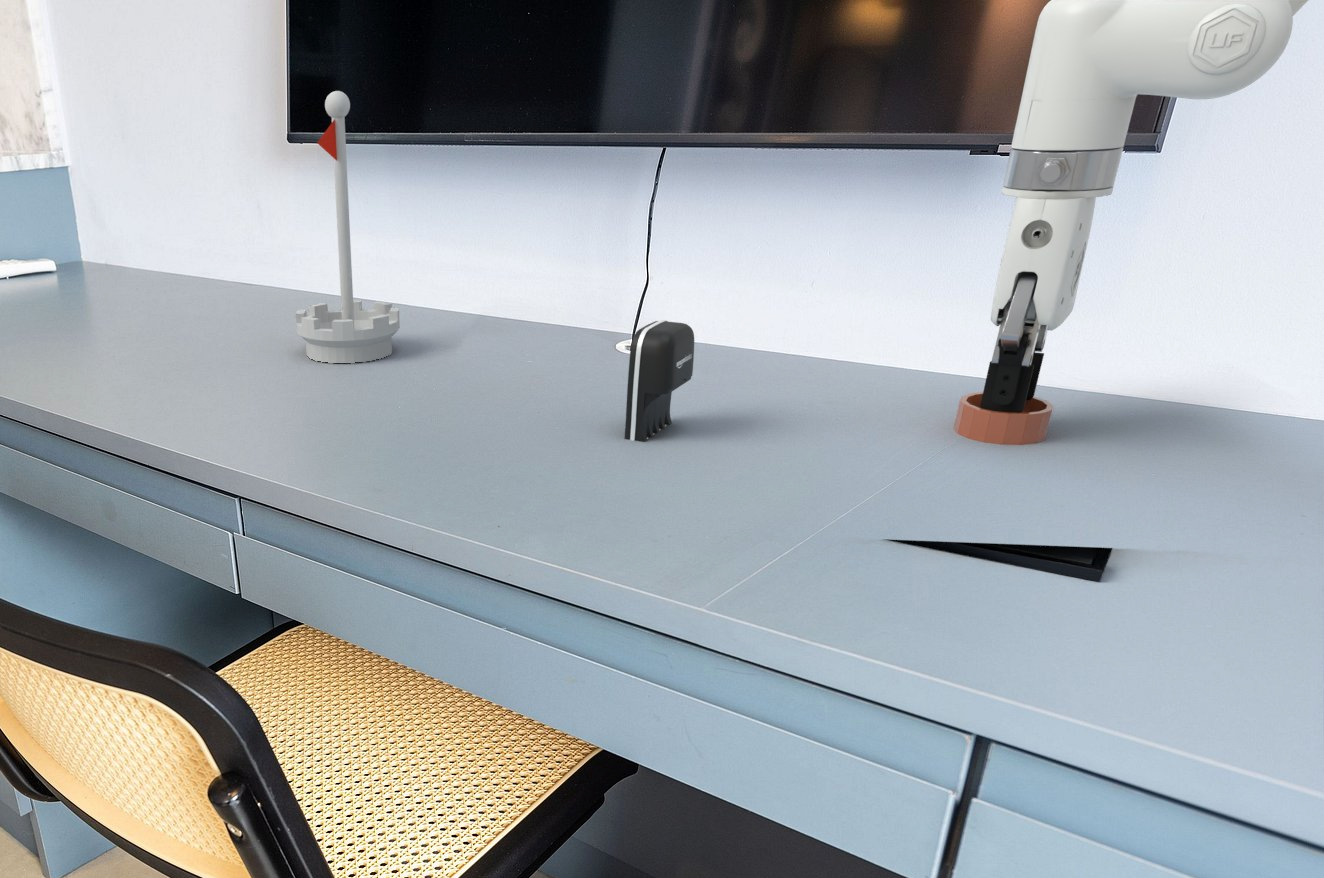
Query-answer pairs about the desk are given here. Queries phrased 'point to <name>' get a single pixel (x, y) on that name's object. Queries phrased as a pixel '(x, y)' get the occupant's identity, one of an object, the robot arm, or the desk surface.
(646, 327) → the battery charger
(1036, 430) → the bangle ring
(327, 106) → the flag stand
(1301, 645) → the desk surface
